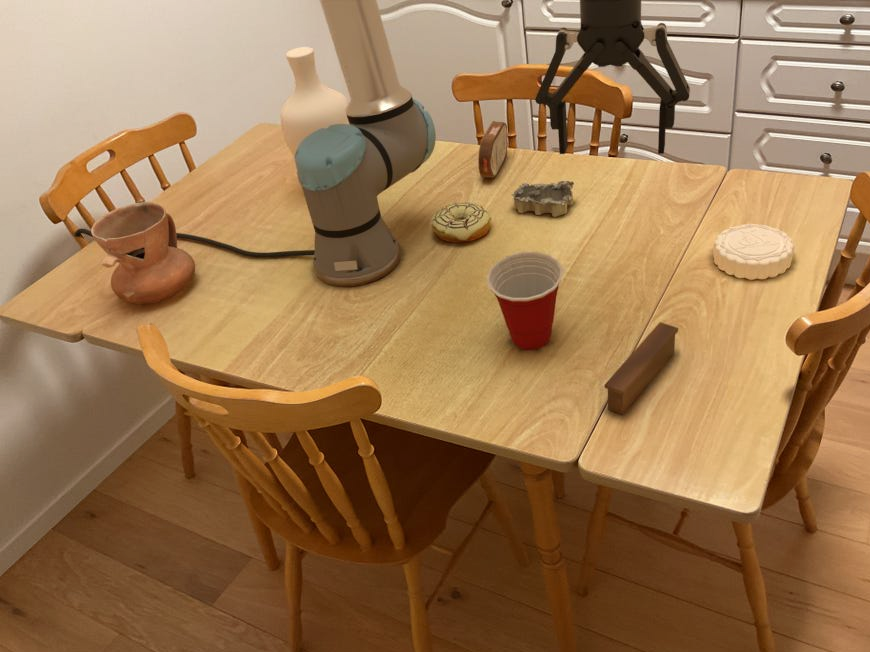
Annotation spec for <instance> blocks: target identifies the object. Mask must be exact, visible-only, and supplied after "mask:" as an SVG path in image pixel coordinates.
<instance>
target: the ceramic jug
mask: <svg viewBox="0 0 870 652" xmlns="http://www.w3.org/2000/svg"><path fill="white" fill-rule="evenodd" d="M90 231H91V234H92V236H93V237H92V236H91V237H92V238H93V239H94V241H95V242H96V244H97V245H98V246H99V248H101V249H102V251H104V252H105V253H106V254H107V255H106V256H105V257H104V258H103V259H102V262H101V265H102V266H103V267H104V268H108V269H109V268H113V267H114V266H115V265H116V264H117V263H118V265H117V266H116V268H115V269H114V270H113V272H112V274H111V276H110V277H111V278H110V288H111V290H112V292H113V293H114V294H115V295H116V296H117V298H119V299H121V300H122V301H124V302H127V303H131V304H137V305H145V304H152V303H157V302H160V301H163V300H165V299H168V298H171V297H172V296H174V295H176V294H178V293H179V292H181V291H182V290H183V289H184V288H186V286H187V285H189V283H190V282H191V281H192V279H193V278H194V275H195V273H196V263H195V260H194V258H193V256H192V255H191V254H190V253H189V252H187V251H186V250H183V248H178V238H177V235H176V233H177V228H176V223H175V221H174V219H173V217H172V215H170V214H169V213H168V212H167V210H166V208H165V207H164V206H163V205H161V204H160V203H157V202H156V203H155V202H153V201H142V202H136V203H135V202H134V203H129V204H126V205H124V206H120V207H118V208H115V209H113V210H111V211H109V212H107V213H105V214H104V215H102V216H101V217H99V218H98V219H97V220H96V221H94V223H93V224H92V227H91V229H90Z"/></svg>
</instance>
